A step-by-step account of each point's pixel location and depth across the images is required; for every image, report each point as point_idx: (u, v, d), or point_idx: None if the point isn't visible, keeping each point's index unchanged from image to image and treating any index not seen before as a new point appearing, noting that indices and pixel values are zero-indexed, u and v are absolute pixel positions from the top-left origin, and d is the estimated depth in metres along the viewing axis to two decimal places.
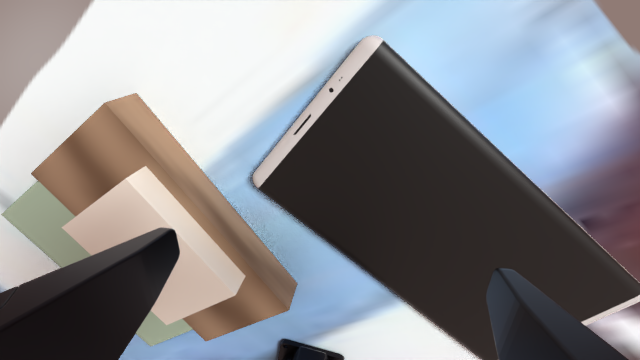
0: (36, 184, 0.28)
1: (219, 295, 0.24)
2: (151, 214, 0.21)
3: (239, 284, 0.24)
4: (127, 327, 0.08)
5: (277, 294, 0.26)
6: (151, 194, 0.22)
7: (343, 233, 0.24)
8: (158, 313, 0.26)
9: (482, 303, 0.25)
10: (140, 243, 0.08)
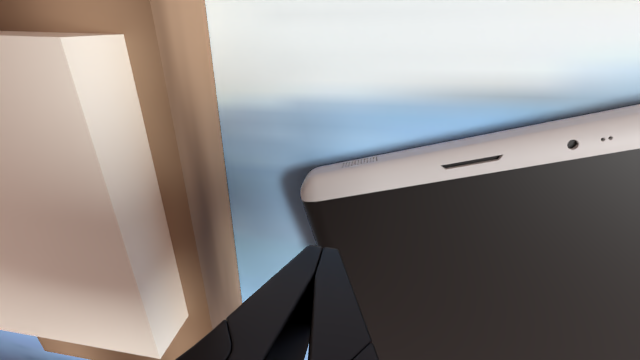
0: None
1: (128, 344, 0.12)
2: (79, 151, 0.08)
3: (174, 334, 0.13)
4: (301, 357, 0.07)
5: None
6: (103, 109, 0.08)
7: (379, 328, 0.15)
8: None
9: None
10: (307, 265, 0.08)
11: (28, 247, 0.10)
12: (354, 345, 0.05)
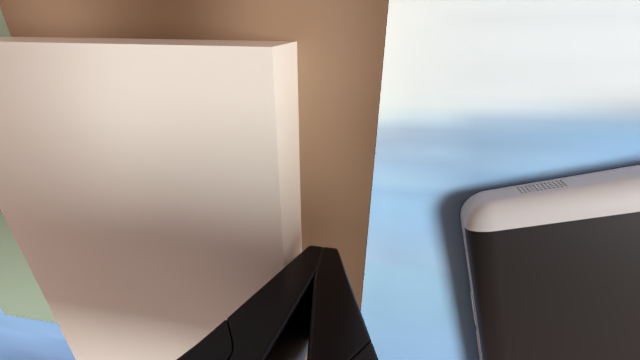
0: None
1: None
2: (258, 180, 0.07)
3: None
4: (302, 357, 0.07)
5: None
6: (284, 130, 0.07)
7: None
8: (77, 344, 0.11)
9: None
10: (308, 265, 0.08)
11: (160, 285, 0.09)
12: (353, 345, 0.05)
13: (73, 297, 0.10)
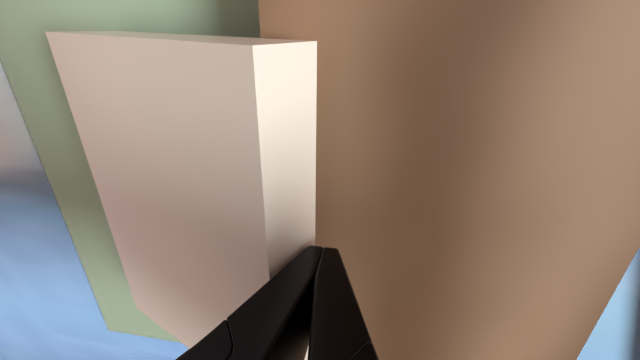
0: None
1: None
2: (246, 184, 0.07)
3: None
4: (301, 357, 0.07)
5: None
6: (280, 135, 0.07)
7: None
8: (134, 289, 0.13)
9: None
10: (307, 265, 0.08)
11: (180, 261, 0.10)
12: (354, 345, 0.05)
13: (130, 250, 0.12)
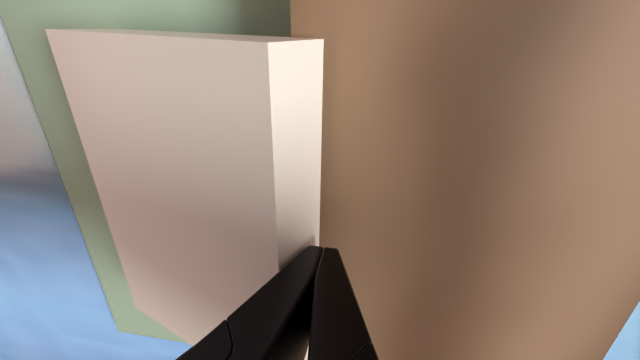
0: None
1: None
2: (256, 177, 0.07)
3: None
4: (301, 357, 0.07)
5: None
6: (290, 130, 0.07)
7: None
8: (133, 288, 0.13)
9: None
10: (307, 264, 0.08)
11: (185, 257, 0.10)
12: (354, 345, 0.05)
13: (130, 249, 0.12)
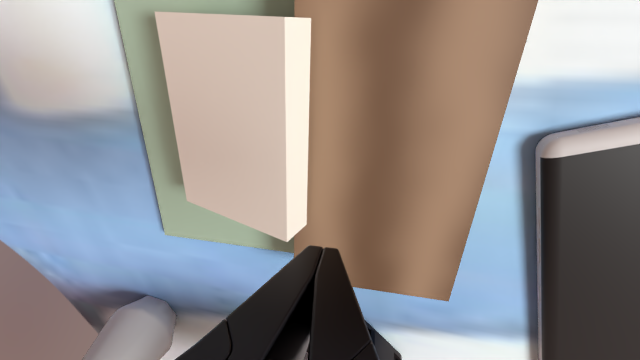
0: None
1: (269, 227, 0.18)
2: (276, 87, 0.14)
3: (296, 231, 0.18)
4: (301, 357, 0.07)
5: (453, 278, 0.20)
6: (293, 62, 0.14)
7: (576, 258, 0.20)
8: (188, 184, 0.20)
9: None
10: (307, 264, 0.08)
11: (229, 148, 0.17)
12: (354, 345, 0.05)
13: (190, 153, 0.19)
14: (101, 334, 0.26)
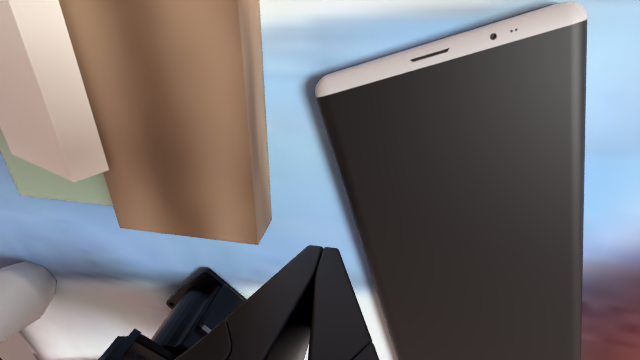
0: None
1: (60, 169, 0.19)
2: (11, 21, 0.15)
3: (91, 174, 0.19)
4: (301, 357, 0.07)
5: (257, 221, 0.20)
6: None
7: (374, 200, 0.20)
8: (6, 136, 0.21)
9: (448, 329, 0.24)
10: (307, 265, 0.08)
11: (12, 92, 0.18)
12: (354, 345, 0.05)
13: None
14: None
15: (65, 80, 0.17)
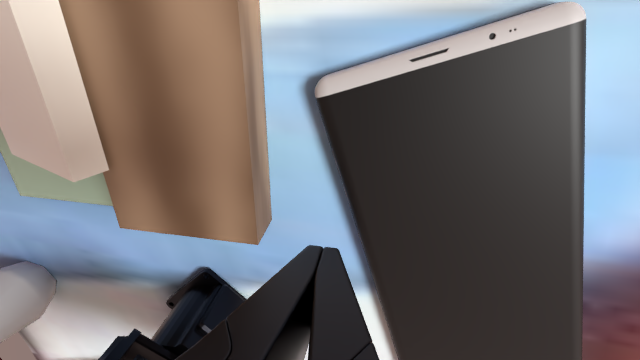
0: None
1: (59, 169, 0.19)
2: (11, 21, 0.15)
3: (91, 174, 0.19)
4: (301, 357, 0.07)
5: (257, 221, 0.20)
6: None
7: (374, 200, 0.20)
8: (6, 136, 0.21)
9: (449, 329, 0.24)
10: (307, 264, 0.08)
11: (12, 92, 0.18)
12: (354, 345, 0.05)
13: None
14: None
15: (65, 80, 0.17)
